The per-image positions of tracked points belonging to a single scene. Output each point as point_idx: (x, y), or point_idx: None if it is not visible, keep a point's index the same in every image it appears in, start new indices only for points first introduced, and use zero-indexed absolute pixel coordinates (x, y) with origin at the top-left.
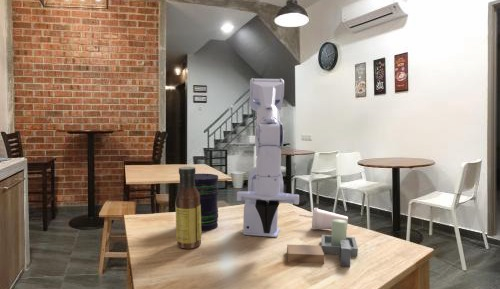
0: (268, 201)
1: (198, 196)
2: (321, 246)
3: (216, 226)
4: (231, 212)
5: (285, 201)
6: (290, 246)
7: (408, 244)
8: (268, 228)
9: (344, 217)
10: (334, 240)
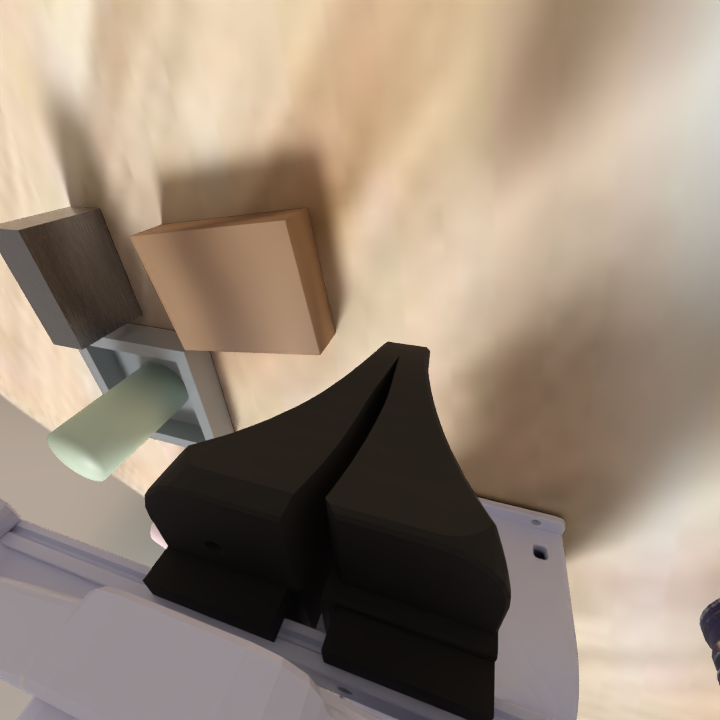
0: (293, 630)
1: None
2: (208, 378)
3: (717, 610)
4: (601, 695)
5: (83, 567)
6: (299, 329)
7: (34, 410)
8: (379, 356)
9: (159, 537)
10: (147, 389)
